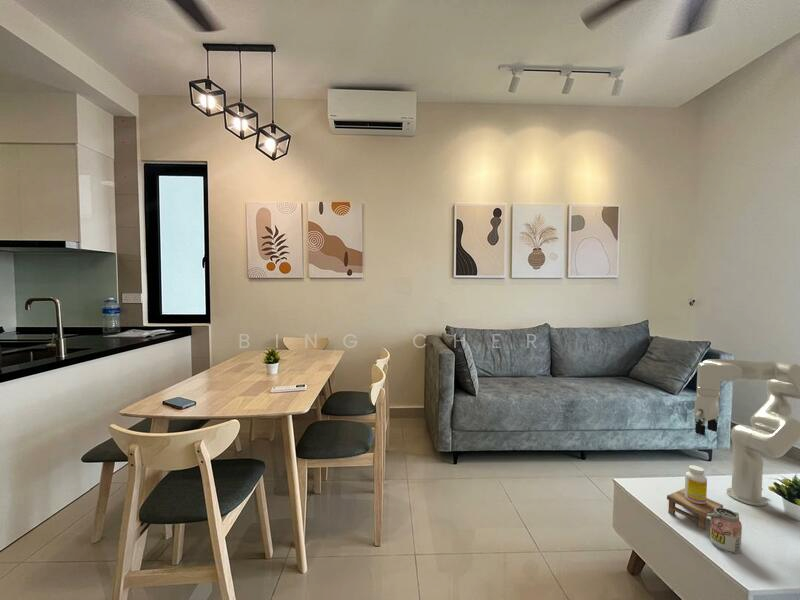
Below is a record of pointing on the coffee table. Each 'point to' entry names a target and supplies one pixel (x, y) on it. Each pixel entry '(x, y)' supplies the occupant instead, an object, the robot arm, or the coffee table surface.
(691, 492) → the supplement bottle
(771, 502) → the coffee table surface
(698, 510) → the footstool
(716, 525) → the pink labeled can
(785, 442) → the robot arm
